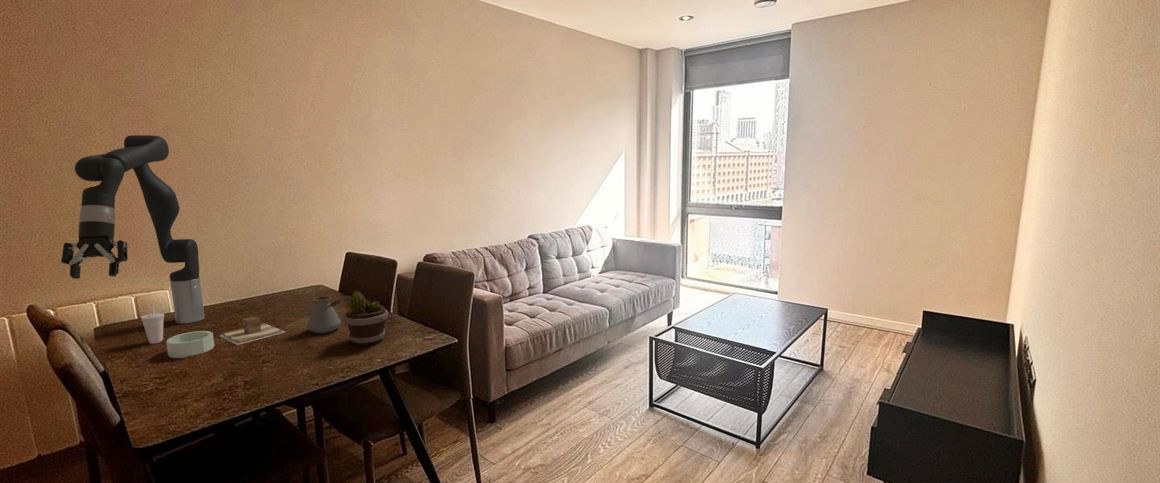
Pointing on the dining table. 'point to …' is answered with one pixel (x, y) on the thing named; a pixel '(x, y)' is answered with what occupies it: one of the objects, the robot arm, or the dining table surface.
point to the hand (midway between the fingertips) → (94, 277)
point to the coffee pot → (323, 316)
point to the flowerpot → (365, 320)
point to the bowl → (190, 344)
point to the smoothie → (153, 326)
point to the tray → (247, 341)
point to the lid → (252, 331)
